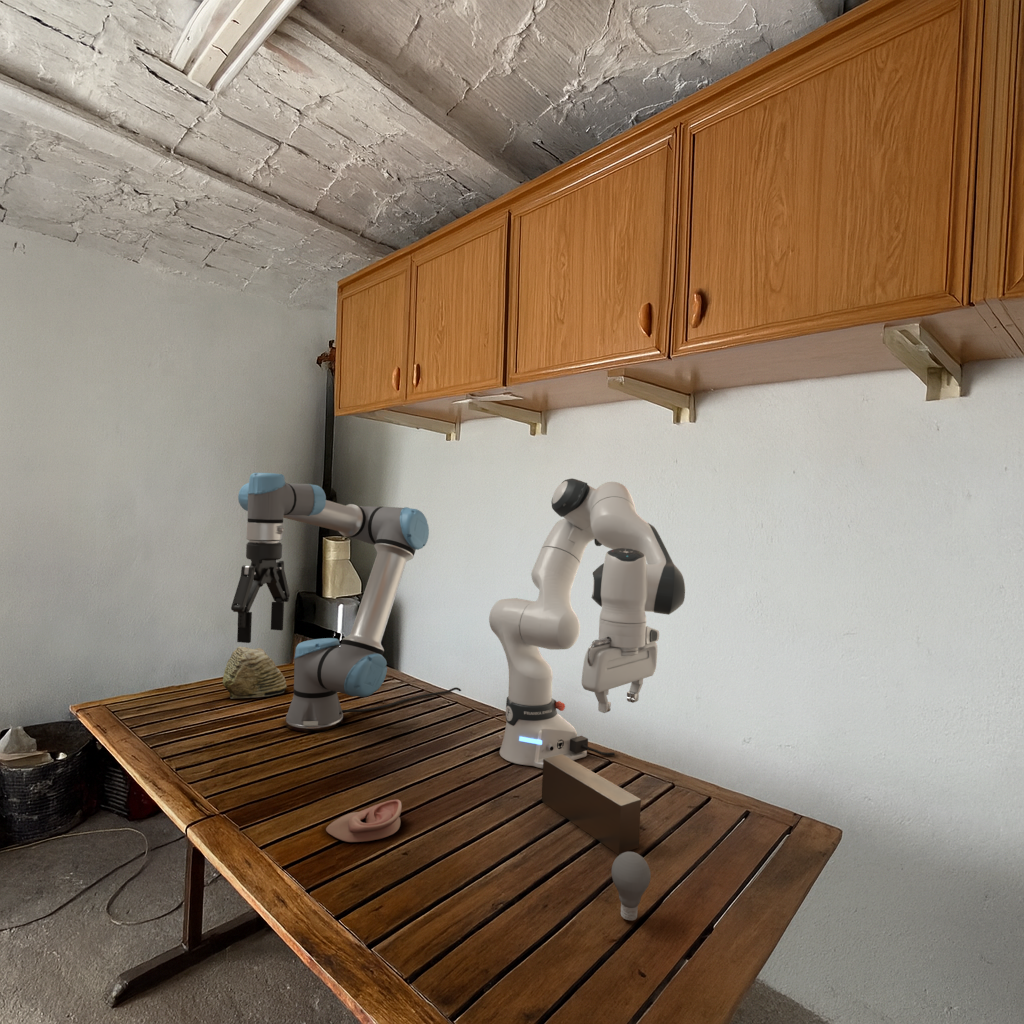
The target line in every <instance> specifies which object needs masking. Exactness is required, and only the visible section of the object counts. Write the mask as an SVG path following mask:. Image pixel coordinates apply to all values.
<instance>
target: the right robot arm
mask: <svg viewBox="0 0 1024 1024" xmlns="http://www.w3.org/2000/svg"><path fill="white" fill-rule="evenodd" d="M551 509H552V510H553V512H554V513H556V515H558V516H559V517H560V518H562V519H559V520H558V521H557V522H556V523H554V525H553V526H552V528H551V530H550V531H549V533H548V535H547V536H546V538H545V540H544V542H543V543H542V546H541V549H540V551H539V553H538V555H537V558H536V560H535V563H534V565H533V568H532V570H531V573H530V576H531V580H532V583H533V584H534V586H535V587H536V588H537V589H538V590H539V592H538V597H537V598H536V600H530V599H529V600H528V599H523V598H518V597H515V598H514V597H513V598H502V599H499V600H497V601H496V602H495V603H494V604H493V605H492V607H491V609H490V611H489V617H488V622H489V623H488V624H489V627H490V629H491V631H492V632H493V633H494V634H495V636H496V637H497V638H498V640H499V642H500V644H501V646H502V648H503V652H504V654H505V658H506V661H507V667H508V696H507V697H506V701H505V722H506V723H505V729H504V733H503V738H502V742H501V745H500V749H499V751H498V752H499V755H500V757H501V758H502V759H504V760H505V761H508V762H509V763H512V764H516V765H523V766H530V767H536V768H538V769H543V759H544V758H549V757H553V756H557V755H561V754H563V755H564V756H566V757H568V758H570V759H571V760H573V761H576V760H579V759H583V758H585V757H587V756H588V754H587V753H588V752H587V751H591V752H593V753H595V754H598V755H601V756H607V757H608V756H611V757H612V756H615V755H616V753H615V752H607V751H606V752H604V751H601V750H598V749H596V748H592V747H590V746H589V738H587V737H586V736H584V735H578V732H577V730H576V728H575V727H574V726H573V724H571V723H570V722H569V721H568V720H567V719H565V718H564V717H563V716H562V715H560V714H559V713H558V711H560V712H563V711H565V709H566V704H565V703H564V702H562V701H561V700H558V701H557V700H556V699H554V698H553V678H554V672H553V669H552V666H551V665H550V663H548V661H547V660H546V659H545V658H544V657H543V655H542V654H541V651H540V649H539V648H542V649H547V650H551V651H552V650H553V651H554V650H555V651H556V650H559V651H560V650H569V649H571V648H572V647H573V646H574V645H575V644H576V642H577V641H578V639H579V637H580V633H581V622H580V620H579V616H578V615H577V613H576V612H575V610H574V608H573V606H572V601H571V600H572V599H571V593H572V588H573V585H574V582H575V578H576V576H577V573H578V570H579V568H580V565H581V563H582V560H583V557H584V553H585V550H586V548H587V546H588V545H589V544H590V543H591V542H592V541H594V545H595V546H596V547H601V546H603V547H606V548H608V549H609V550H608V551H607V552H606V553H605V557H604V562H603V563H602V564H600V565H599V566H597V568H596V569H594V570H593V571H592V577H593V580H592V581H593V585H592V594H591V597H590V598H591V599H592V600H593V601H594V602H595V603H596V604H597V605H598V606H600V607H601V610H600V613H599V621H598V622H599V623H598V639H594V640H593V641H592V642H591V644H590V645H589V647H588V648H587V650H586V653H585V655H584V659H583V666H582V673H581V686H582V688H583V689H584V690H585V691H588V692H590V693H591V692H592V693H594V695H595V698H596V700H597V704H598V705H597V708H598V712H600V713H602V714H607V713H609V712H610V711H611V706H612V703H611V701H608V700H609V699H608V695H609V690H612V689H615V688H618V687H622V686H624V685H627V684H630V686H629V691H627V692H626V701H627V702H629V703H632V704H634V703H636V702H638V701H639V696H640V691H641V690H642V688H643V684H644V679H647V678H649V677H653V676H654V674H655V673H656V670H657V663H658V644H657V642H658V641H659V639H660V631H659V630H658V629H655V628H653V627H650V626H648V625H647V616H646V612H649V613H655V614H661V615H671V614H672V613H674V612H675V611H677V610H678V609H679V608H680V607H682V605H683V604H684V602H685V599H686V598H685V597H686V583H685V578H684V576H683V573H682V572H681V571H680V569H679V568H678V567H677V566H676V565H675V563H674V561H673V559H672V557H671V555H670V553H669V552H668V549H667V547H666V545H665V544H664V541H663V539H662V538H661V536H660V533H659V532H658V530H657V528H655V526H654V525H652V524H650V523H649V522H647V521H646V520H645V519H643V518H642V517H641V516H640V515H639V514H638V512H637V508H636V504H635V501H634V498H633V496H632V494H631V492H630V491H629V489H628V488H627V487H626V485H624V484H622V483H620V482H617V481H607V482H604V483H601V485H599V486H597V488H595V487H593V486H591V485H589V484H588V482H585V481H582V480H579V479H576V478H568V479H565V480H563V481H562V482H561V483H560V484H559V485H558V486H557V487H556V488H555V491H554V492H553V495H552V498H551Z"/></svg>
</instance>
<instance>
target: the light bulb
mask: <svg viewBox="0 0 1024 1024" xmlns="http://www.w3.org/2000/svg"><path fill="white" fill-rule="evenodd" d="M651 875H652V874H651V869H650V867H649V864H648V862H647V861H646V859H645V858H644V857H643V856H642V855H640V854H639V853H637V852H634V851H628V852H624V853H622V854H620V855H618V856H616V857H615V859H614V860H613V863H612V865H611V877H612V878H611V879H612V882H613V885H614V886H615V888H616V890H617V892H618V897H619V902H620V916H621V917H622V918H623V919H624V920H627V921H635V920H637V919H638V909H639V907H638V906H639V905H640V903H641V899H642V897H643V895H644V893H645V892H646V890H647V889H648V888H649V885H650V883H651V877H652V876H651Z"/></svg>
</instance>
